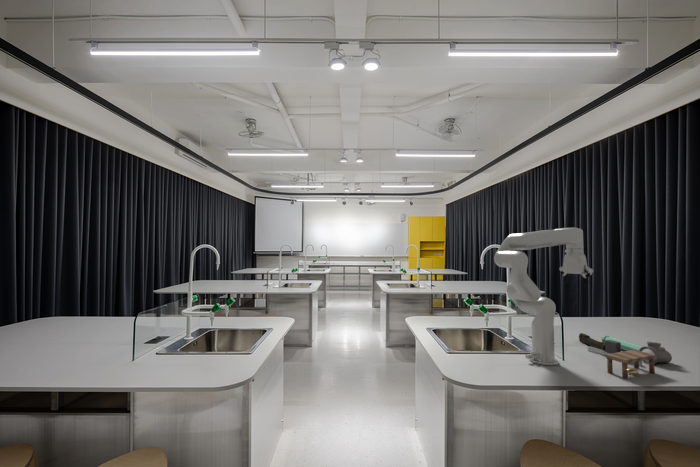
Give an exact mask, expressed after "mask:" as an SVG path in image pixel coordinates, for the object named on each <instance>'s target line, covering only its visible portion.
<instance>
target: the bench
mask: <svg viewBox="0 0 700 467" xmlns="http://www.w3.org/2000/svg"><path fill="white" fill-rule="evenodd" d="M605 359H606V365H607V366H606V367H607V373H608V374H610V375H611V374H613V373H614V372H613V370H614V369H613V368H614V367H613V361H616V362H619V363H621V371H622V372H621V375H622V378H623V379H626V380H627V379H628V378H629V374H628V367H629V366H628V365H629V364H631V363H633V362H634V364H633V368H634V369H637V368H639V369H640V366H639V361H642V362H643V361H644V360H649V364H648V370H649V371H648V372H649V373H650V374H655V364H654V359H655V355H654V354H650V353H646V352H642V351H638V350H629V351H623V350H622V351H621V352H617V353H611V354H606V356H605Z"/></svg>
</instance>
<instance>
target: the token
mask: <svg viewBox="0 0 700 467" xmlns="http://www.w3.org/2000/svg"><path fill="white" fill-rule="evenodd" d="M628 373H629V374H628V375H631V374H633V375H632V376H638V375H639V369H637V368H634V367H629V366H628Z"/></svg>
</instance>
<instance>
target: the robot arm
mask: <svg viewBox="0 0 700 467" xmlns="http://www.w3.org/2000/svg"><path fill="white" fill-rule="evenodd" d="M561 245H565V248H566V249H565V250H564V253H566V254H564V257H563V264H562V266H560V267H559V268H558V270H559V271H560V273H561V275H562V276H563V281H564V285H569V284H571V283H570V282H571V281H570V280H571V279H570V278H571V277H570V276H569V275H570V274H573V275H581V276H582V280H581V282H582V286H583V287H588V286H589V278H590V277H591V276H592V274H593V273H594V269H593V268H591V267H589V266H588V263H587V257H586V254H585V252H584V231H583V229H582V228H578V227H561V228H560V227H559V228H555V229H545V230H544V229H541V230H536V231H529V232H518V233H517V232H516V233H510V234H509V235H507V237H506V238H504V240H503V241H502V243H501V244H500V246H499V247H498V249H497V250H496V251H495V254H494V257H493V259H494V264H495V265H497V266H498V267H499V268H505V269H506V268H507V269H508V268H509V269H510V274H509V277H508V278H509V279H508V280H509V283H508V284H507V286H506V294H507V297H508V298H509V299H510V300H511V302H512V303H514V304H515V306H516V307H517V308H518V309H519V310H520V311H522V312H523V313H525V314H530V315H534V318H533V320H532V321H531V349H532V350H531V351H530V353H528V354H525V355H524V357H525V359H527V360H528V359H529V361H531V362H532V363H535V364H539V365H543V366H557V365H559V359H557V358H555V356H556V355H555V351H556V350H555V327H554V326H555V325H554V324H555V315H556V310H557V307H556V304H555V302H554V300H552V299H551V298H549V297H546V296H542V294H541V291H540V288H539V287H538V286H537V285H536V284H535V282H534V281H533V280H532V279H531V278H530V277H529V275H528V270H527V269H528V264H529V257H528V256H527V254H526V253H525V252H523V251H529V250H534V249H540V248H546V247H548V248H549V247H555V246H561Z"/></svg>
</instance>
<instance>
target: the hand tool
mask: <svg viewBox="0 0 700 467" xmlns="http://www.w3.org/2000/svg"><path fill="white" fill-rule="evenodd" d="M578 341H579V342H580V343H581V344H583V345H586V346H589V347H590V346H591V347H594V348H598V349H601V350H605V344H604V343H602V341H599V340H596V339H594V338H592V337H591V336H590V335H588V334H585V333H582V332H580V333H579V335H578ZM605 351H606V350H605Z"/></svg>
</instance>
